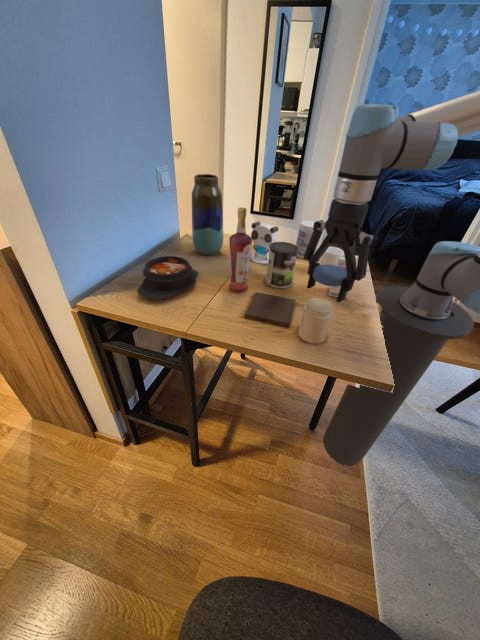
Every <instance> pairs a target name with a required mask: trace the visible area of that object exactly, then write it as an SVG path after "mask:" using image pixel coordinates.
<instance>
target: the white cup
mask: <svg viewBox="0 0 480 640" xmlns="http://www.w3.org/2000/svg"><path fill="white" fill-rule="evenodd" d="M340 253H343V254H344V251H343V248H339V247H337V246H329V247H328V249H327V250H326V251H325V252H324V254H323V255H322V256H321V258H320V265H334V266H337V262H338V259H339V256H340Z"/></svg>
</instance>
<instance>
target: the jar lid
mask: <svg viewBox="0 0 480 640" xmlns="http://www.w3.org/2000/svg"><path fill="white" fill-rule="evenodd" d="M345 277H347V271H346V270H344V269H343V268H340V267H338V266H334V265H319V266H316V267H315V268H314V272H313V278H314V280H315V281H316V282H317V283H318V284H321V285H323V286H327V287H331V286H341V285H342V282H343V279H344V278H345Z"/></svg>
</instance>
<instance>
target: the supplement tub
mask: <svg viewBox="0 0 480 640" xmlns="http://www.w3.org/2000/svg"><path fill="white" fill-rule="evenodd" d="M314 222H315V221H314V220H302V221H301V222H300V225H299V227H298V233H297V238H296V243H295V245H296V246H297V247H298V252H297V258H300V259H304V254H305V251H306V249H307V246H308V244H309V241H310V239H311V236H312V233H313V227H314ZM318 245H319V243H318V244H317V247H316V249H315V252H316V251H317V249H318ZM315 252H314V253H315ZM313 255H314V254H313Z"/></svg>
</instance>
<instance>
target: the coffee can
mask: <svg viewBox="0 0 480 640" xmlns="http://www.w3.org/2000/svg"><path fill="white" fill-rule="evenodd" d="M269 248H270V250H269V258H268V264H267V267H266V274H265V275H266V276H265V283H266V284H267V285H268V286H269V287H272V288H277V289H287V288H289V287H290V286H292V284H293V278H294V272H295V267H296V264H297V263H296V262H297V258H298V256H297V252H298V247H297V246H296V244H294V243H292V242H286V241H277V242H274V243H272V244H270V247H269Z"/></svg>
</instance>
